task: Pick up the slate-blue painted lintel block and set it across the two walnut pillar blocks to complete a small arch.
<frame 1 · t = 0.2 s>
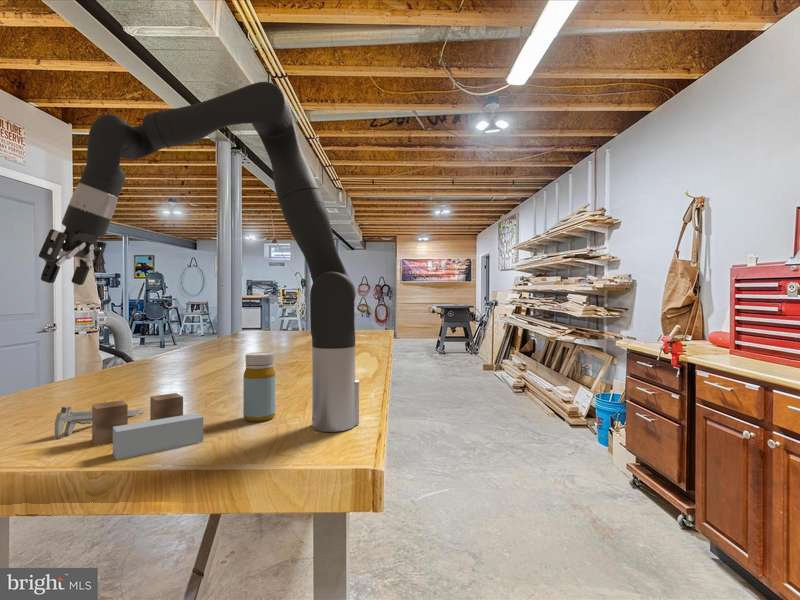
hand: (62, 282, 87), 31 cm above the workbench, tool tilted 20°, fingers open, 8 cm apart
bottle: (259, 419, 97), on the workbench
pillar 1: (109, 440, 82), on the workbench
pillar 2: (166, 429, 89), on the workbench
caliper: (104, 426, 92), on the workbench
lintel: (159, 448, 77), on the workbench
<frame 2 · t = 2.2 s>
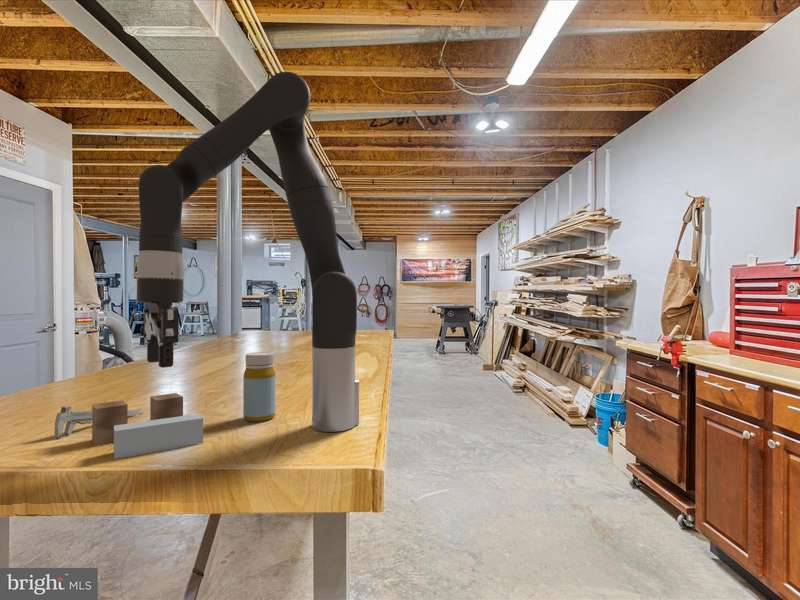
hand: (159, 364, 78), 15 cm above the workbench, tool pointing down, fingers open, 8 cm apart
nothing on the workbench moved.
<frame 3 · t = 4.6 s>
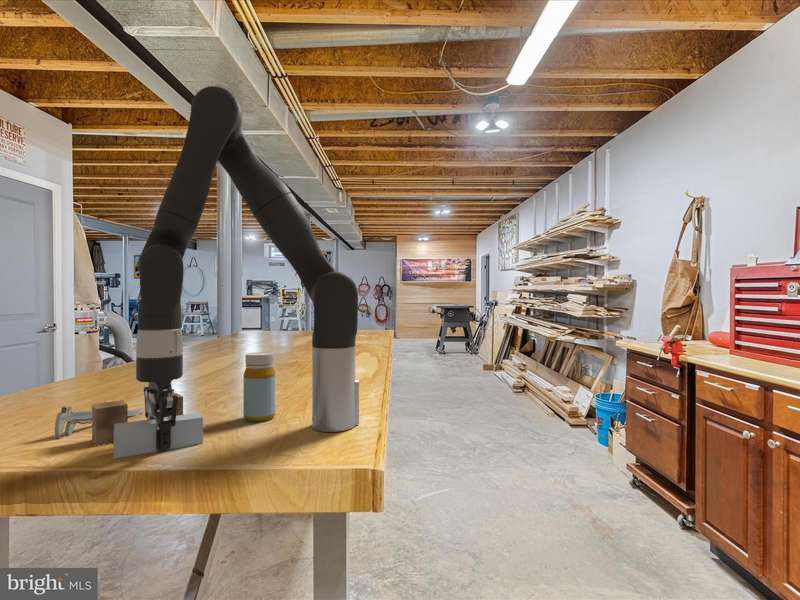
hand: (159, 445, 77), 0 cm above the workbench, tool pointing down, fingers closed on lintel, 4 cm apart
lintel: (159, 447, 77), on the workbench, touching gripper
everything else where it was.
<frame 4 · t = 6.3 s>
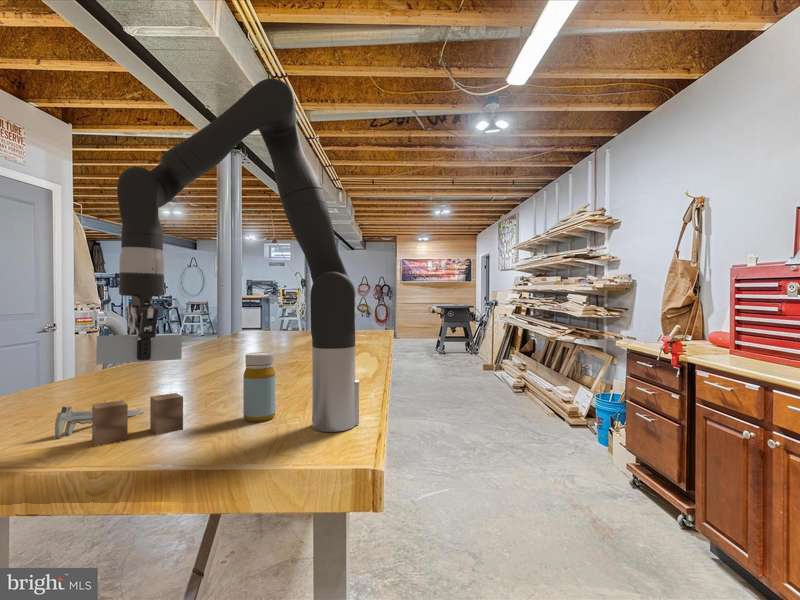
hand: (140, 358, 83), 16 cm above the workbench, tool pointing down, fingers closed on lintel, 4 cm apart
lintel: (140, 360, 83), point 15 cm above the workbench, touching gripper
everything else where it was.
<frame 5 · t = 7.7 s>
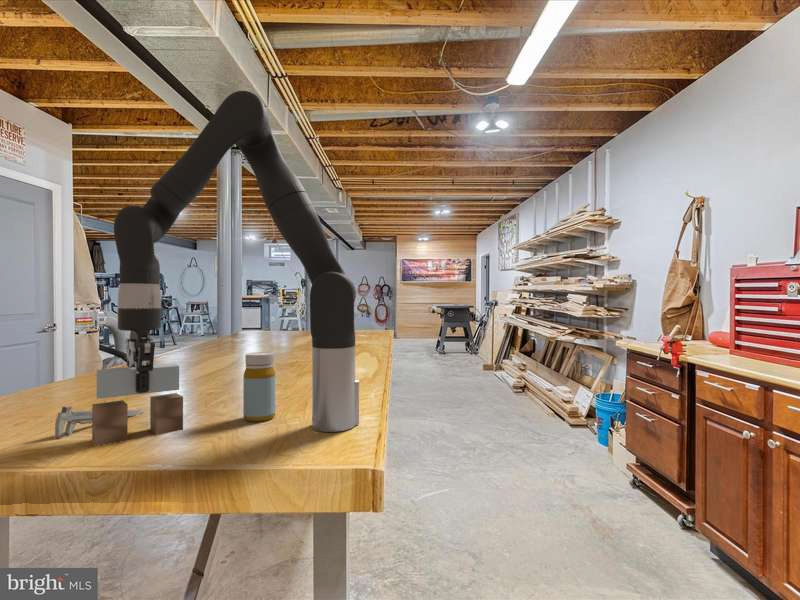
hand: (139, 390, 85), 9 cm above the workbench, tool pointing down, fingers closed on lintel, 4 cm apart
lintel: (139, 392, 85), point 9 cm above the workbench, touching gripper
everything else where it was.
when the fingers open (9 cm above the workbench, at t = 8.5 s): lintel drops 1 cm, resting on pillar 1.
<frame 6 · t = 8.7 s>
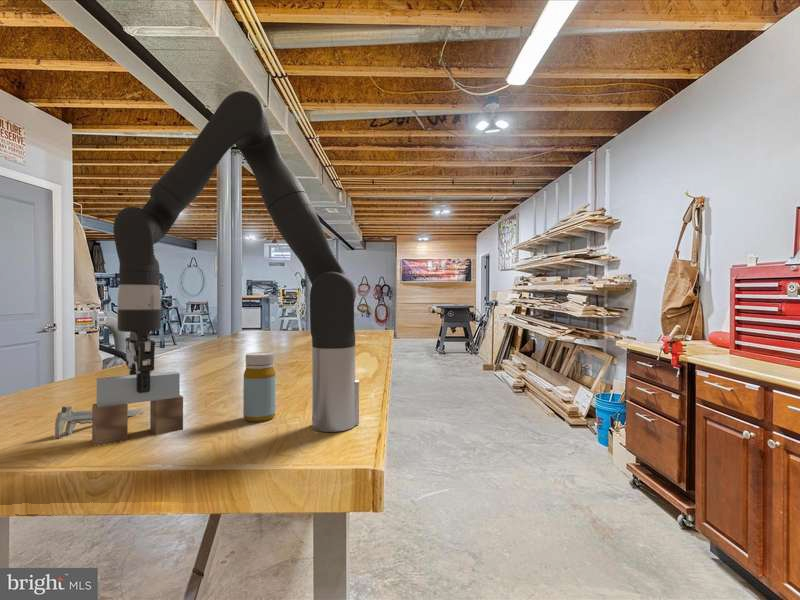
hand: (139, 389, 85), 9 cm above the workbench, tool pointing down, fingers open, 6 cm apart
pillar 1: (109, 440, 82), on the workbench, touching lintel
lintel: (139, 400, 85), point 7 cm above the workbench, touching pillar 1
everything else where it was.
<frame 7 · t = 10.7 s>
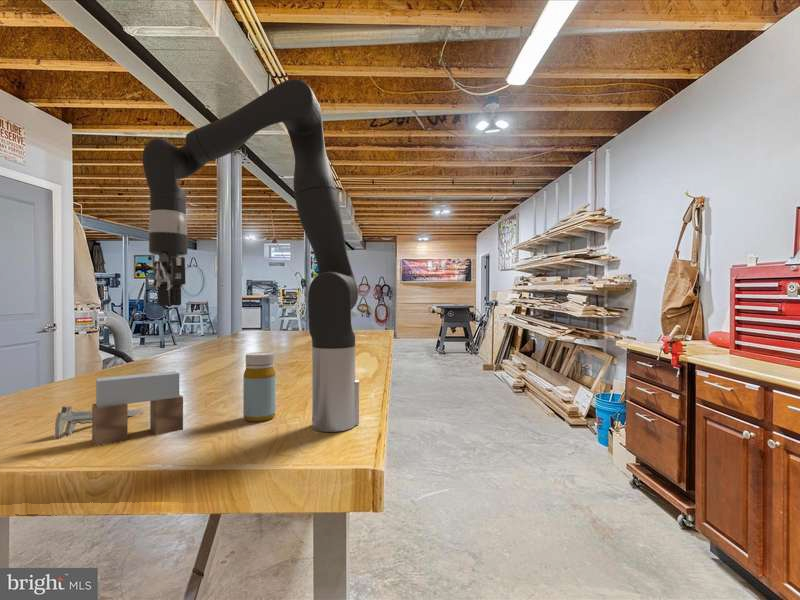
hand: (168, 305, 94), 26 cm above the workbench, tool pointing down, fingers open, 8 cm apart
pillar 1: (109, 440, 82), on the workbench
lintel: (139, 400, 85), point 7 cm above the workbench
everything else where it was.
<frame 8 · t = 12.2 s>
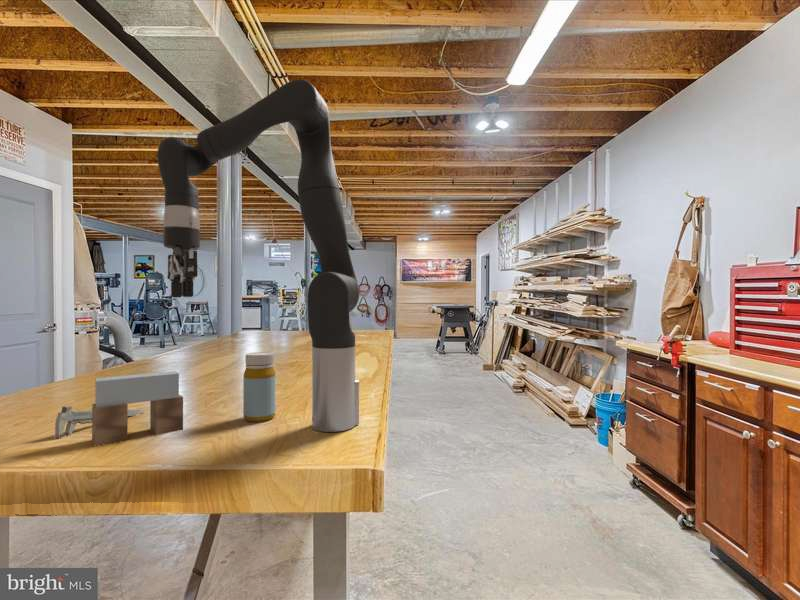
hand: (181, 297, 98), 28 cm above the workbench, tool pointing down, fingers open, 8 cm apart
pillar 1: (109, 440, 82), on the workbench, touching lintel
lintel: (138, 400, 85), point 7 cm above the workbench, touching pillar 1
everything else where it was.
at the end: lintel inside the target area (0.2 cm from its centre), point 6.9 cm above the workbench; lintel tilted 0°; the gripper is holding nothing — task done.
